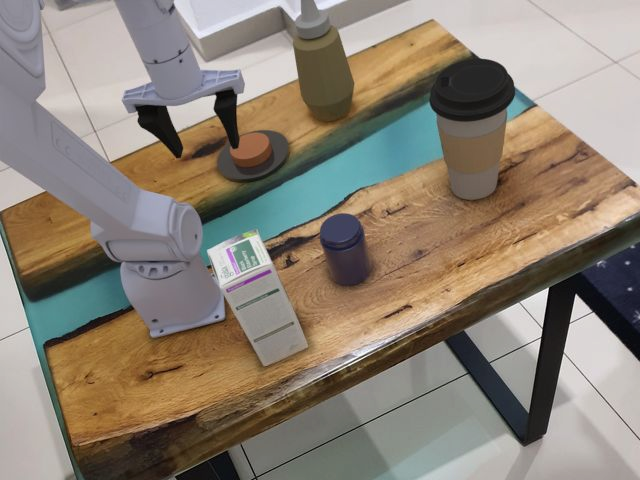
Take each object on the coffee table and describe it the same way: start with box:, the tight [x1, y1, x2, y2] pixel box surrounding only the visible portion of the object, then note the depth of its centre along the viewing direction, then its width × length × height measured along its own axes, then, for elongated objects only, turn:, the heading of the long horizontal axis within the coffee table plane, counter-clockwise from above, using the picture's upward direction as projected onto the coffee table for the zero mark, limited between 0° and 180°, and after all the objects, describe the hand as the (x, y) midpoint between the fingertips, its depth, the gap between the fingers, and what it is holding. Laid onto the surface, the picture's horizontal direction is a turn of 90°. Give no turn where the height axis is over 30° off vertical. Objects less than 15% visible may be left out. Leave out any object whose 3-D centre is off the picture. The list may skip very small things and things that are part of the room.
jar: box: [319, 212, 373, 287], centre depth 76 cm, size 5×5×7 cm
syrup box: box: [206, 228, 309, 367], centre depth 69 cm, size 6×6×14 cm
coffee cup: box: [428, 58, 516, 201], centre depth 77 cm, size 9×9×15 cm
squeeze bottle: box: [292, 0, 355, 122], centre depth 91 cm, size 8×8×18 cm
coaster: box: [216, 129, 291, 183], centre depth 96 cm, size 11×11×1 cm
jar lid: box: [230, 132, 272, 167], centre depth 95 cm, size 6×6×2 cm
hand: (207, 148), depth 83 cm, fingers open, 7 cm apart
